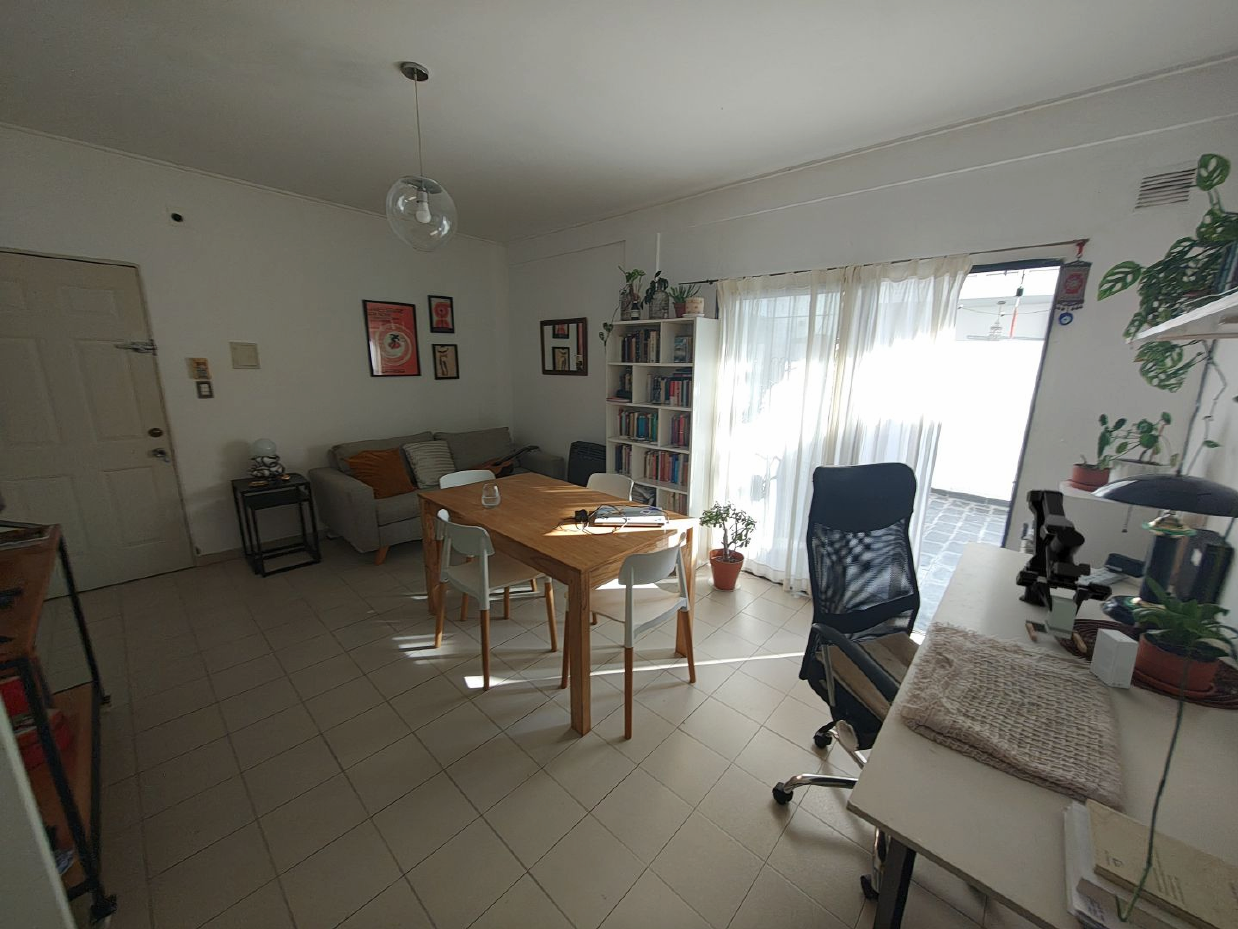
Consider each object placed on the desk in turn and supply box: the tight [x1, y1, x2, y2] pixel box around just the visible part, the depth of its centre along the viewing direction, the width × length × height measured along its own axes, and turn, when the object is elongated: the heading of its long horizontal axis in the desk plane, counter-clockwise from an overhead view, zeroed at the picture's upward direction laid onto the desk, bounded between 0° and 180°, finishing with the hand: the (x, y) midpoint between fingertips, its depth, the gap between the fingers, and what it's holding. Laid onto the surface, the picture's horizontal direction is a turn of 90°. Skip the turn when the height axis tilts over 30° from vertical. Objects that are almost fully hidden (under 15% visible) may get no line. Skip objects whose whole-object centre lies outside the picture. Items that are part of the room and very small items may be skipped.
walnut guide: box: [1025, 619, 1088, 654], centre depth 127 cm, size 10×11×2 cm
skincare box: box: [1089, 628, 1140, 689], centre depth 108 cm, size 6×4×12 cm
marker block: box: [1044, 594, 1077, 640], centre depth 124 cm, size 5×5×10 cm
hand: (1062, 613), depth 123 cm, fingers closed on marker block, 4 cm apart
